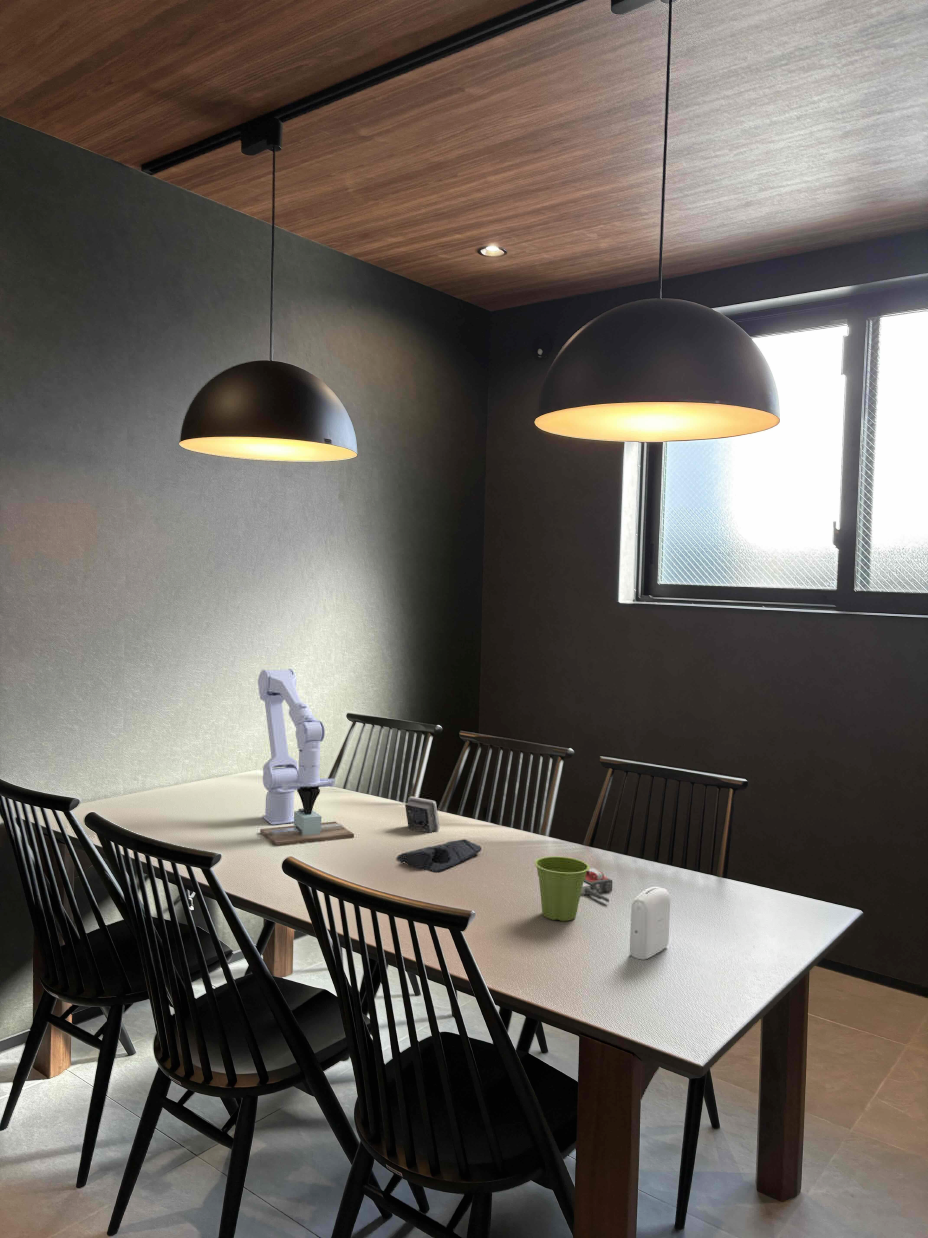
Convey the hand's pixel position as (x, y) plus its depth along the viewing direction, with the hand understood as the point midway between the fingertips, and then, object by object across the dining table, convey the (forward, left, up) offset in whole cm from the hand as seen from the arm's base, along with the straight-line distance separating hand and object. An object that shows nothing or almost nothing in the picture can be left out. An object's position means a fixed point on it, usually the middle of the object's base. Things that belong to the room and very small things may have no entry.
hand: (307, 814), depth 249 cm
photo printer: (+102, +34, -6) cm, 108 cm away
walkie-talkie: (+68, +46, -6) cm, 82 cm away
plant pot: (+79, +29, -6) cm, 84 cm away
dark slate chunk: (+32, +25, -7) cm, 41 cm away
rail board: (0, 0, -6) cm, 6 cm away
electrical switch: (+7, +32, -6) cm, 33 cm away
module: (0, 0, -5) cm, 5 cm away
